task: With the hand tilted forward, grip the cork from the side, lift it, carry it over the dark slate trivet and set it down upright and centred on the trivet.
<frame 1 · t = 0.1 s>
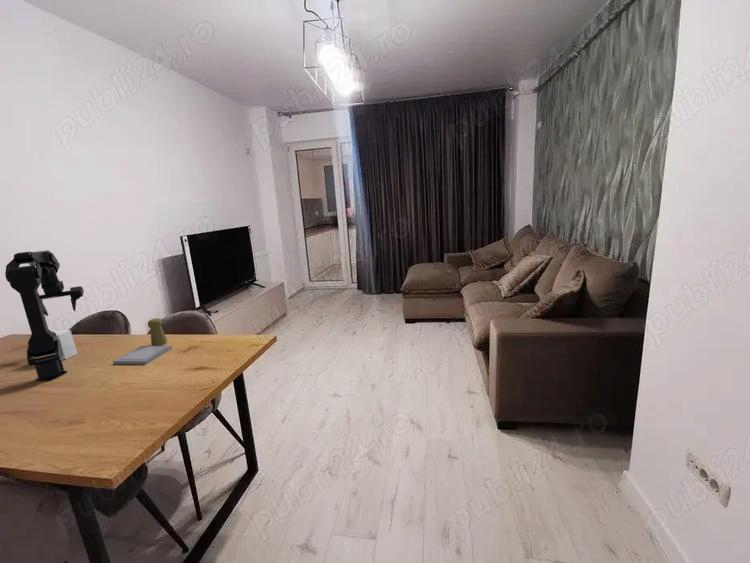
hand: (61, 313, 157), 15 cm above the table, tool pointing down, fingers open, 9 cm apart
small box: (63, 357, 149), on the table
trivet: (144, 355, 143), on the table
cork: (159, 344, 155), on the table
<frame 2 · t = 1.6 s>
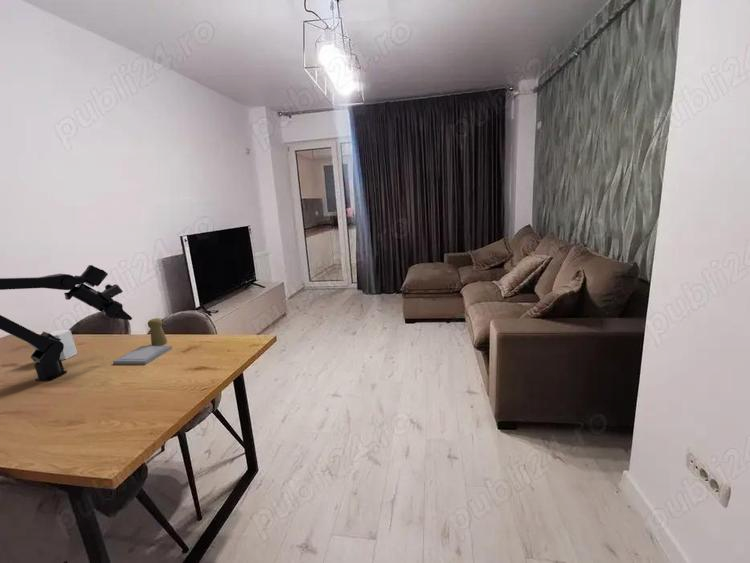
hand: (128, 317, 149), 14 cm above the table, tool tilted 40°, fingers open, 9 cm apart
nothing on the table moved.
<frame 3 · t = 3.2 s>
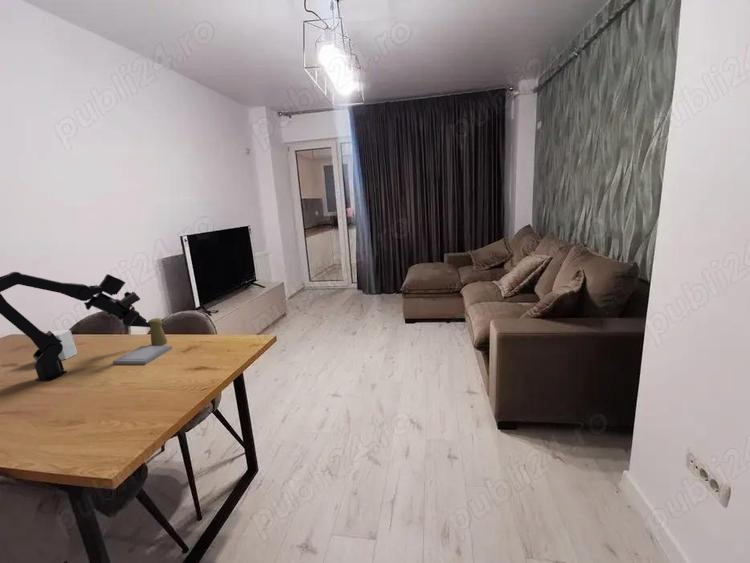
hand: (147, 323, 152), 10 cm above the table, tool tilted 45°, fingers open, 9 cm apart
nothing on the table moved.
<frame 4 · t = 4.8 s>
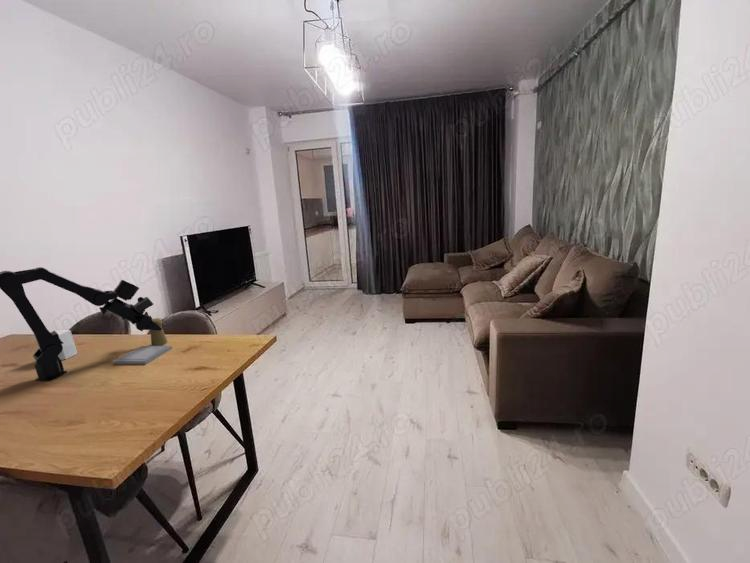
hand: (160, 328, 155), 7 cm above the table, tool tilted 45°, fingers closed on cork, 5 cm apart
cork: (159, 344, 155), on the table, touching gripper
everything else where it was.
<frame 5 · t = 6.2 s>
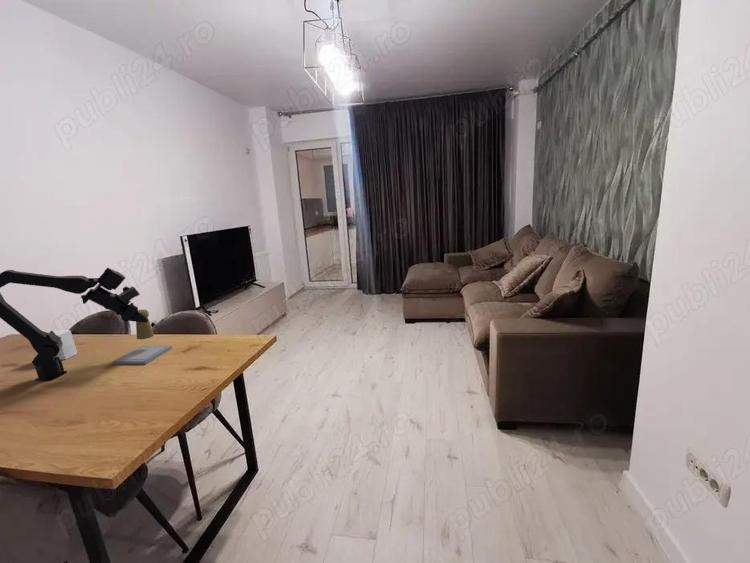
hand: (146, 320, 146), 13 cm above the table, tool tilted 45°, fingers closed on cork, 5 cm apart
cork: (145, 337, 147), point 6 cm above the table, touching gripper
everything else where it was.
when the fingers open (9 cm above the table, at t = 7.7 s): cork stays where it is, resting on trivet.
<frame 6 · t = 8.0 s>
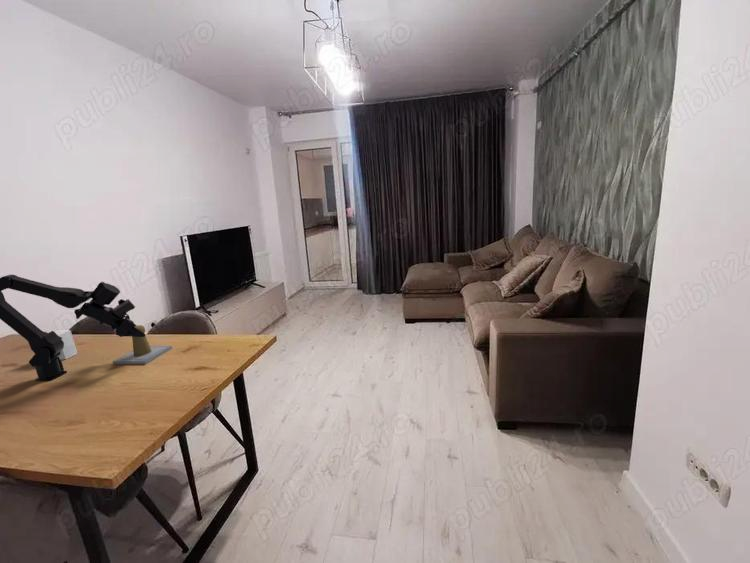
hand: (142, 333, 142), 9 cm above the table, tool tilted 45°, fingers open, 8 cm apart
cork: (142, 353, 143), point 1 cm above the table, touching trivet
everything else where it was.
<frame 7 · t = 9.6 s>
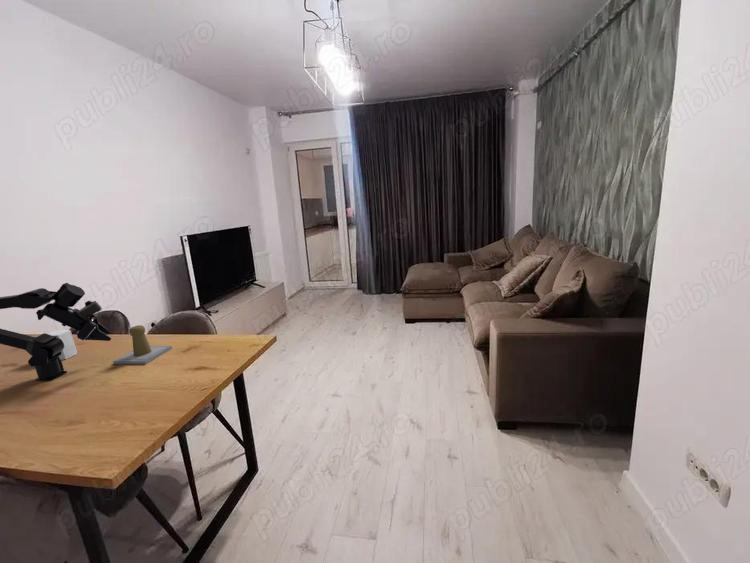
hand: (110, 336, 138), 10 cm above the table, tool tilted 45°, fingers open, 9 cm apart
nothing on the table moved.
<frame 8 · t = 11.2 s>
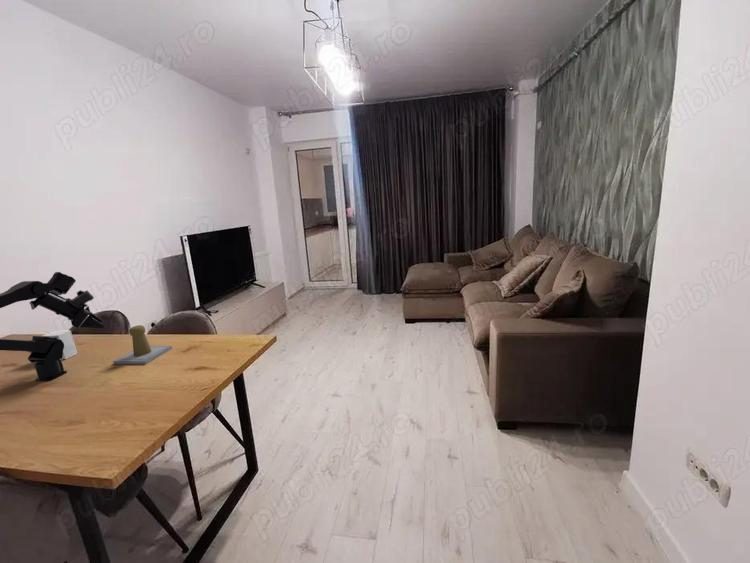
hand: (102, 324, 142), 14 cm above the table, tool tilted 45°, fingers open, 9 cm apart
nothing on the table moved.
at the end: cork 0.3 cm from the trivet (horizontally); cork tilted 0°; the gripper is holding nothing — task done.
